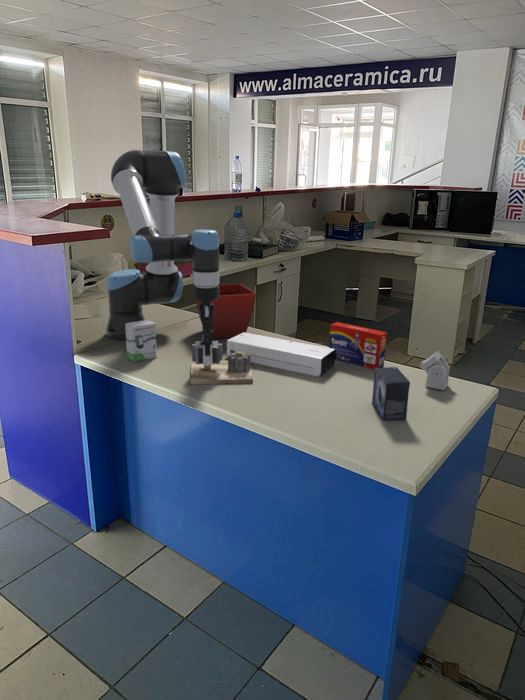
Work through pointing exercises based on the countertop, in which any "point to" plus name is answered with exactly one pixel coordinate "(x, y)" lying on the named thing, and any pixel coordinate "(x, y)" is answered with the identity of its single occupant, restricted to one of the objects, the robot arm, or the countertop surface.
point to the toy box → (358, 345)
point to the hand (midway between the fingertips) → (207, 359)
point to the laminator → (283, 353)
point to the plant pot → (231, 310)
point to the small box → (390, 393)
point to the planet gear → (198, 352)
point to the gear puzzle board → (223, 371)
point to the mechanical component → (436, 371)
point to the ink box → (141, 340)
